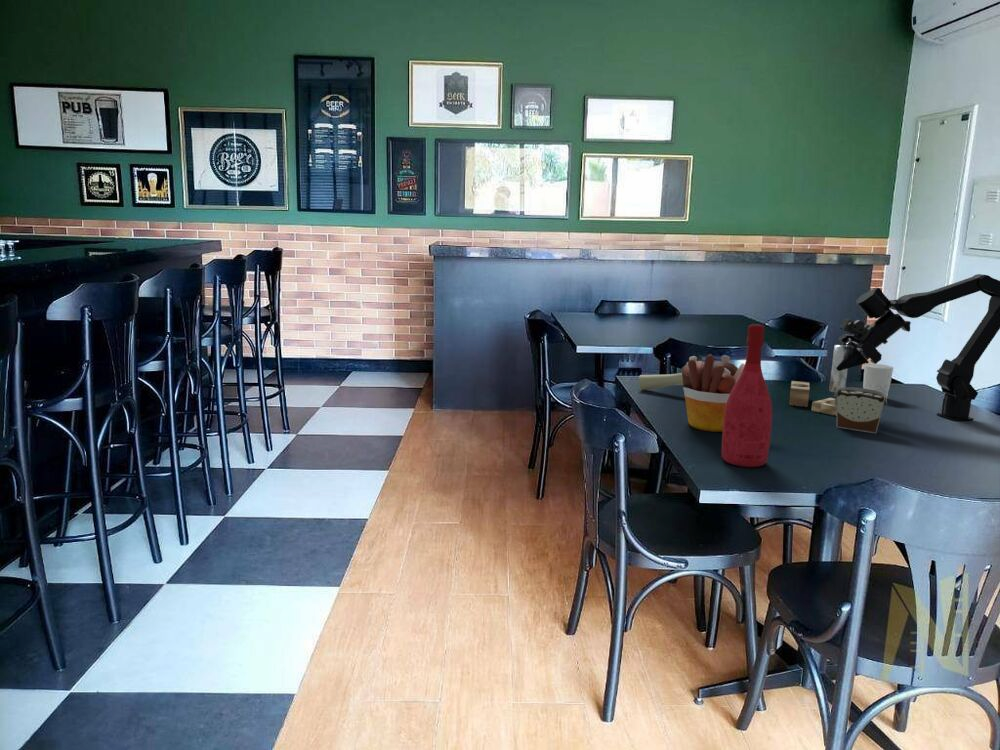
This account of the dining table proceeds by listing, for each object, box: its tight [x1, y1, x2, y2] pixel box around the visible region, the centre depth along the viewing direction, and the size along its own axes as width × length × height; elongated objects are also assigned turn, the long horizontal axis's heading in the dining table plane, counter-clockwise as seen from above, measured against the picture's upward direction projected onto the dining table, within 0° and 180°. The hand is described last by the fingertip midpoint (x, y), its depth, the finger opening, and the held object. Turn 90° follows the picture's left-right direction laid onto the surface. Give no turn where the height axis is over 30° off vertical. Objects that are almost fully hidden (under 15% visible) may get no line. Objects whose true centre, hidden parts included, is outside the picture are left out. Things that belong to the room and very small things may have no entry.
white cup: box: [862, 363, 894, 398], centre depth 226 cm, size 8×8×10 cm
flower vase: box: [637, 372, 683, 391], centre depth 218 cm, size 12×12×35 cm
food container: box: [833, 387, 888, 434], centre depth 189 cm, size 12×6×10 cm, turn 56°
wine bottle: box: [721, 323, 773, 468], centre depth 156 cm, size 10×10×30 cm
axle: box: [828, 344, 850, 394], centre depth 205 cm, size 4×4×13 cm
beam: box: [788, 380, 811, 408], centre depth 218 cm, size 12×5×5 cm, turn 158°
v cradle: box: [811, 397, 837, 417], centre depth 207 cm, size 8×14×2 cm, turn 174°
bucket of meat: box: [681, 354, 745, 433], centre depth 185 cm, size 20×16×20 cm
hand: (834, 368), depth 205 cm, fingers closed on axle, 4 cm apart
